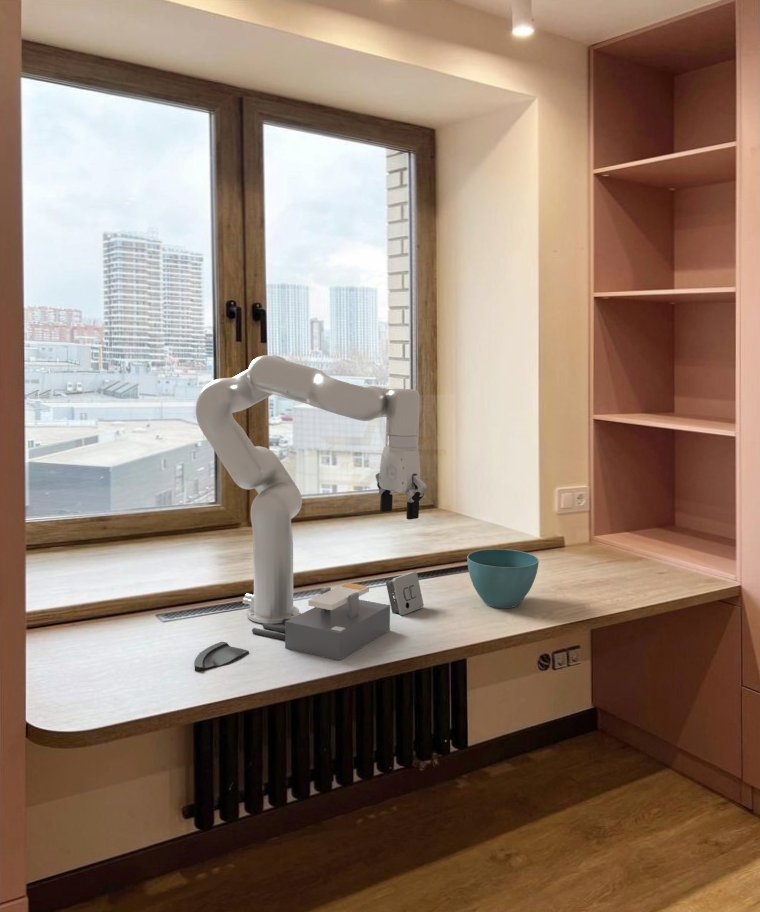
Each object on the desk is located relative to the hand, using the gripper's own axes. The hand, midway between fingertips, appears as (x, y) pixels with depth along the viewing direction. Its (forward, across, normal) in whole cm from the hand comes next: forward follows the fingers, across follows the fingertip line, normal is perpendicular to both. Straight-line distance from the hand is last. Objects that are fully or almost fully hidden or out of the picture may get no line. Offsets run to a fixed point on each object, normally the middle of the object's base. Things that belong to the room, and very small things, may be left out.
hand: (399, 514), depth 191 cm
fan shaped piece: (+28, -6, -44) cm, 52 cm away
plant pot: (+26, +4, +33) cm, 42 cm away
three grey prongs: (+27, -11, -24) cm, 38 cm away
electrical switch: (+27, -7, +9) cm, 29 cm away
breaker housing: (+27, 0, -16) cm, 31 cm away
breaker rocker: (+17, 0, -16) cm, 24 cm away
